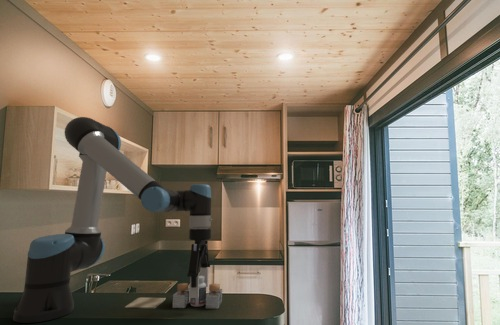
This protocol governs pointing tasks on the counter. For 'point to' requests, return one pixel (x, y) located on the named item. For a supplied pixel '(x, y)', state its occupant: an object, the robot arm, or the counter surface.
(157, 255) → the counter surface
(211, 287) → the plunger
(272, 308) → the counter surface
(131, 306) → the coaster
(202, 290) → the pill bottle
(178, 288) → the plunger
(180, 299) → the set of grey blocks
